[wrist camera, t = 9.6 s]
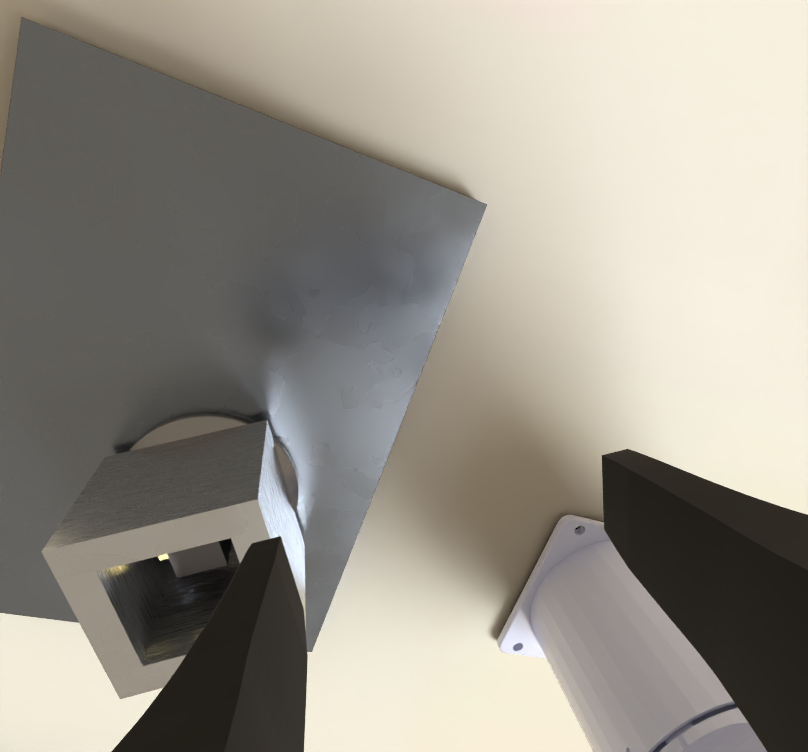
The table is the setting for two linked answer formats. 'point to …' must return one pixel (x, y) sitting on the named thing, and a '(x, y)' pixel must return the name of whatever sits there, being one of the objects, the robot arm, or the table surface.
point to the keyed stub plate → (201, 301)
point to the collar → (167, 545)
